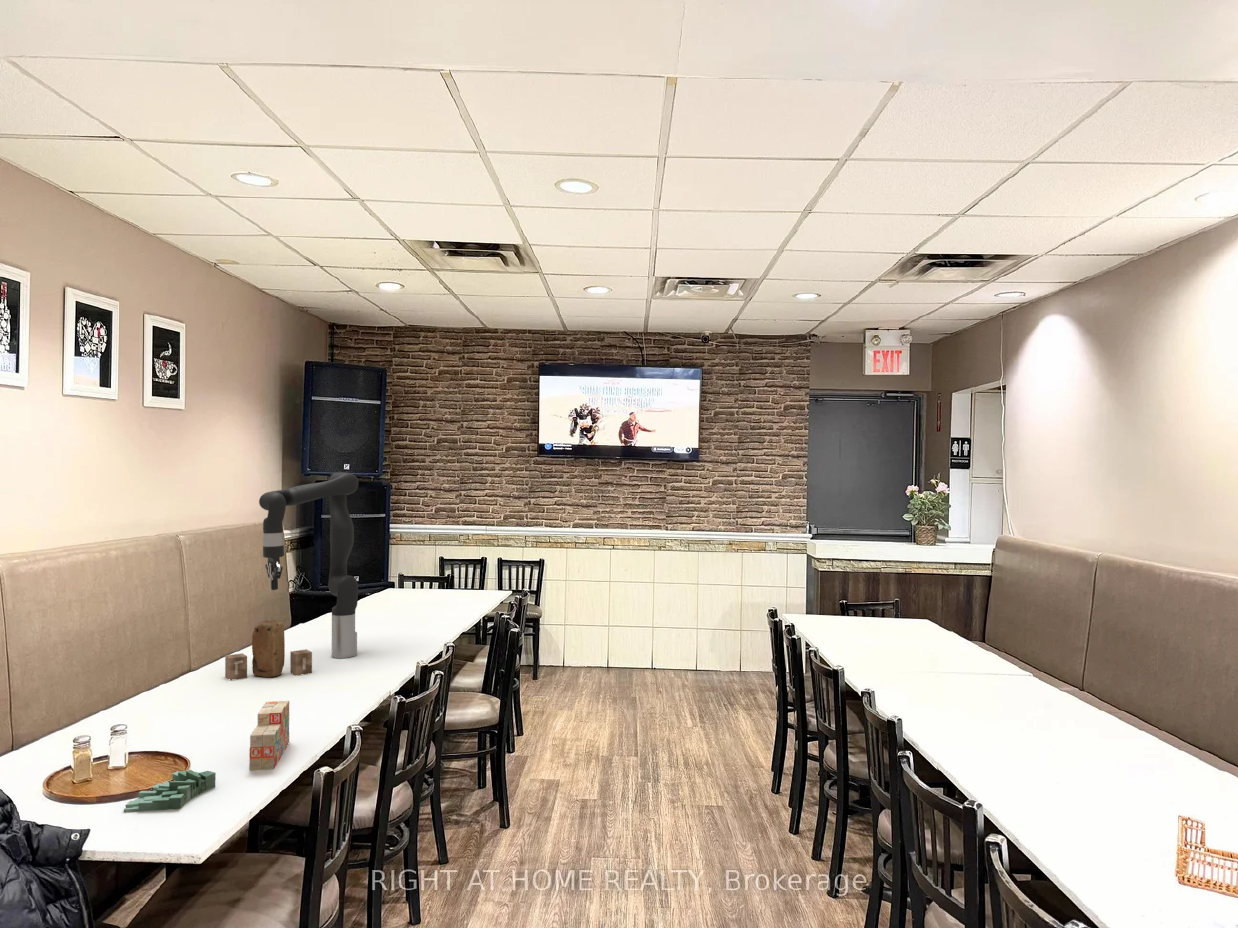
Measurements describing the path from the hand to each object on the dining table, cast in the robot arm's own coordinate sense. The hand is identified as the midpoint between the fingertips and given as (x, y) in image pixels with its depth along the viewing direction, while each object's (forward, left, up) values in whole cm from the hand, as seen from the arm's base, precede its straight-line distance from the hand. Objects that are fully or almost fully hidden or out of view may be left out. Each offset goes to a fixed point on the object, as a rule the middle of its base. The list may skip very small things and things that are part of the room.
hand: (274, 589), depth 323 cm
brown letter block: (+14, +3, -31) cm, 34 cm away
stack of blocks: (+31, +96, -31) cm, 106 cm away
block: (+4, +7, -31) cm, 32 cm away
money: (+57, +109, -31) cm, 126 cm away
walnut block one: (-7, +11, -31) cm, 33 cm away
